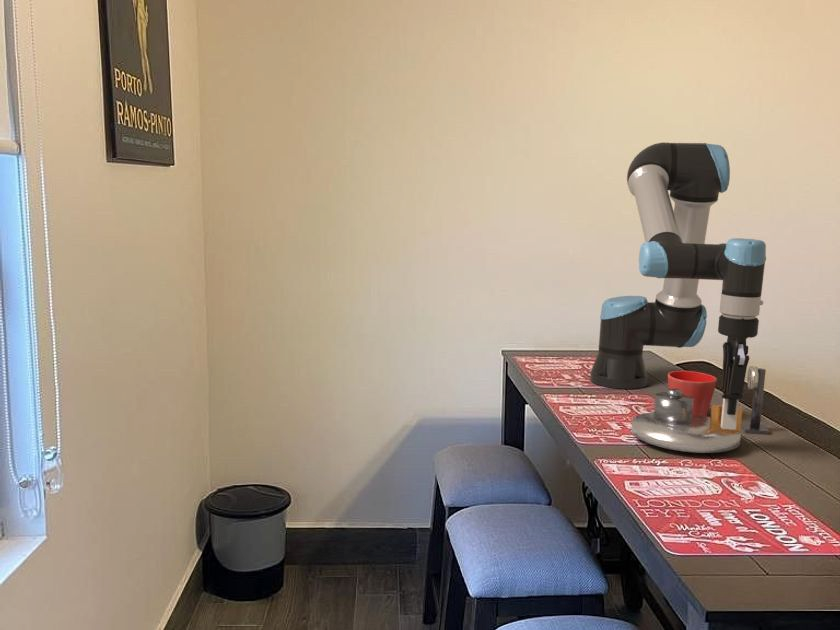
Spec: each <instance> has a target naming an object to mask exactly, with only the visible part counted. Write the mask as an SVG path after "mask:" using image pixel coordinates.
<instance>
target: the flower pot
mask: <svg viewBox="0 0 840 630" xmlns="http://www.w3.org/2000/svg"><path fill="white" fill-rule="evenodd" d="M717 381H718V378H717V377H715V376H714V375H710V374H709V373H703V372H699V371H692V370H674V371H670V372H668V373H667V383H668V389H670V388H674V389H680V390H682V394H686V395H689V396H691V397H693V398H694V401H693V412H692V414H697V415H703V416H707V415H708V411H709V408H710V405H711V402H712V398H713V396H714V393H715V389H716V386H717Z"/></svg>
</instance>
